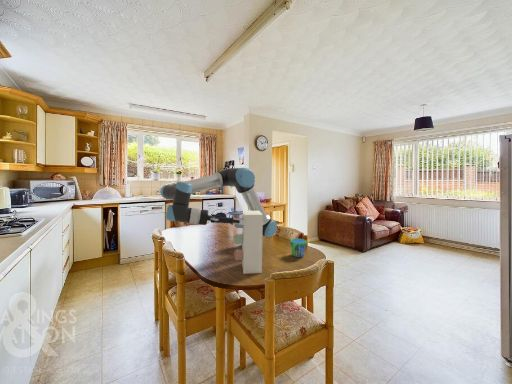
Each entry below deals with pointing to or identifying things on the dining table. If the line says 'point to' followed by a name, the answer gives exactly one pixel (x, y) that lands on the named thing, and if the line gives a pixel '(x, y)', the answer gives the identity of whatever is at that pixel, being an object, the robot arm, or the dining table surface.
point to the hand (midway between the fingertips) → (245, 222)
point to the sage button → (238, 239)
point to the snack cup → (298, 247)
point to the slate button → (238, 226)
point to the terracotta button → (238, 254)
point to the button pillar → (252, 242)
